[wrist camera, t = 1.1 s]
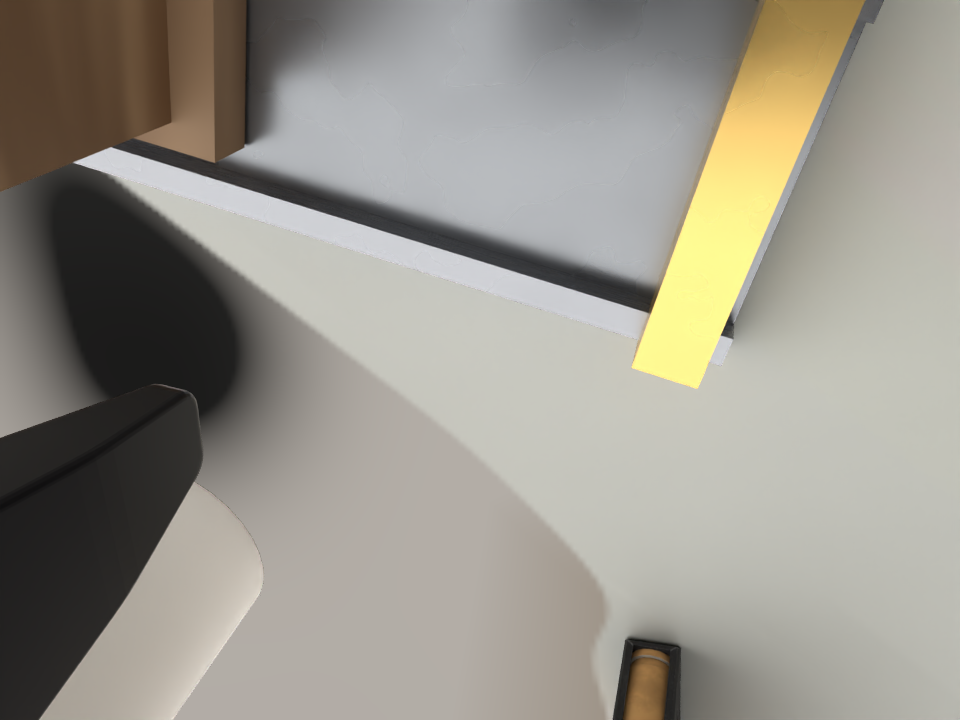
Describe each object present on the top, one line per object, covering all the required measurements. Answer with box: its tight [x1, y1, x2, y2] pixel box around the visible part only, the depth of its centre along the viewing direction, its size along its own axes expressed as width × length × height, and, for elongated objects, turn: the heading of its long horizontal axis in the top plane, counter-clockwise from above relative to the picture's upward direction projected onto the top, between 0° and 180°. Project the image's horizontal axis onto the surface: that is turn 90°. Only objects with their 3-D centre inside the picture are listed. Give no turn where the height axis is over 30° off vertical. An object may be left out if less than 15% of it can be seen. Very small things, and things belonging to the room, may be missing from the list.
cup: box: [39, 481, 264, 720], centre depth 28 cm, size 8×12×10 cm
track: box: [73, 0, 884, 389], centre depth 18 cm, size 21×9×2 cm, turn 80°
